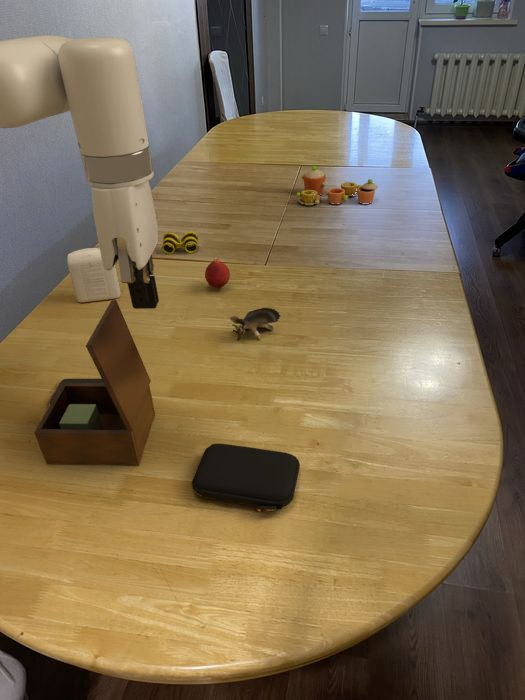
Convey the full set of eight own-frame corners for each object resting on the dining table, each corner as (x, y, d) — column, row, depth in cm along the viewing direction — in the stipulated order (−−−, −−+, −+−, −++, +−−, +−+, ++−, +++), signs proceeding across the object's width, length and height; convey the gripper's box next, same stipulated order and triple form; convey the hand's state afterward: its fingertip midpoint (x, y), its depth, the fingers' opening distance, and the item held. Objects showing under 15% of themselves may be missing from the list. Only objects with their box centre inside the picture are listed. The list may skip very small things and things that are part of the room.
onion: (225, 296, 121) (222, 265, 116) (202, 292, 123) (199, 262, 118) (234, 284, 125) (232, 254, 121) (212, 281, 127) (209, 251, 122)
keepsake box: (46, 464, 80) (33, 432, 76) (72, 413, 89) (62, 382, 85) (139, 465, 79) (131, 433, 75) (155, 414, 89) (149, 383, 85)
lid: (85, 345, 66) (91, 345, 66) (111, 300, 76) (116, 299, 76) (127, 431, 75) (133, 431, 75) (146, 381, 84) (151, 380, 84)
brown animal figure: (253, 348, 101) (287, 325, 105) (235, 317, 100) (270, 294, 103) (238, 350, 108) (270, 327, 112) (221, 320, 107) (254, 299, 110)
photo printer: (121, 290, 125) (111, 242, 118) (121, 299, 122) (110, 250, 114) (77, 296, 123) (64, 248, 116) (76, 305, 120) (62, 256, 113)
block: (66, 444, 82) (58, 423, 80) (75, 424, 86) (69, 404, 83) (93, 444, 82) (87, 423, 79) (102, 424, 86) (96, 404, 83)
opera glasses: (163, 257, 141) (160, 242, 138) (164, 246, 145) (161, 230, 141) (198, 255, 141) (196, 240, 138) (199, 244, 145) (197, 229, 141)
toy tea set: (295, 207, 167) (295, 177, 161) (297, 191, 179) (297, 163, 174) (377, 207, 164) (380, 176, 159) (373, 191, 177) (375, 162, 171)
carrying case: (186, 505, 73) (289, 522, 70) (183, 491, 71) (289, 508, 68) (208, 450, 81) (301, 463, 78) (207, 436, 79) (301, 449, 77)
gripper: (105, 149, 65) (132, 279, 75) (62, 187, 53) (102, 337, 63) (164, 147, 64) (183, 279, 75) (134, 185, 52) (162, 336, 63)
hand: (146, 305), depth 69 cm, fingers closed
